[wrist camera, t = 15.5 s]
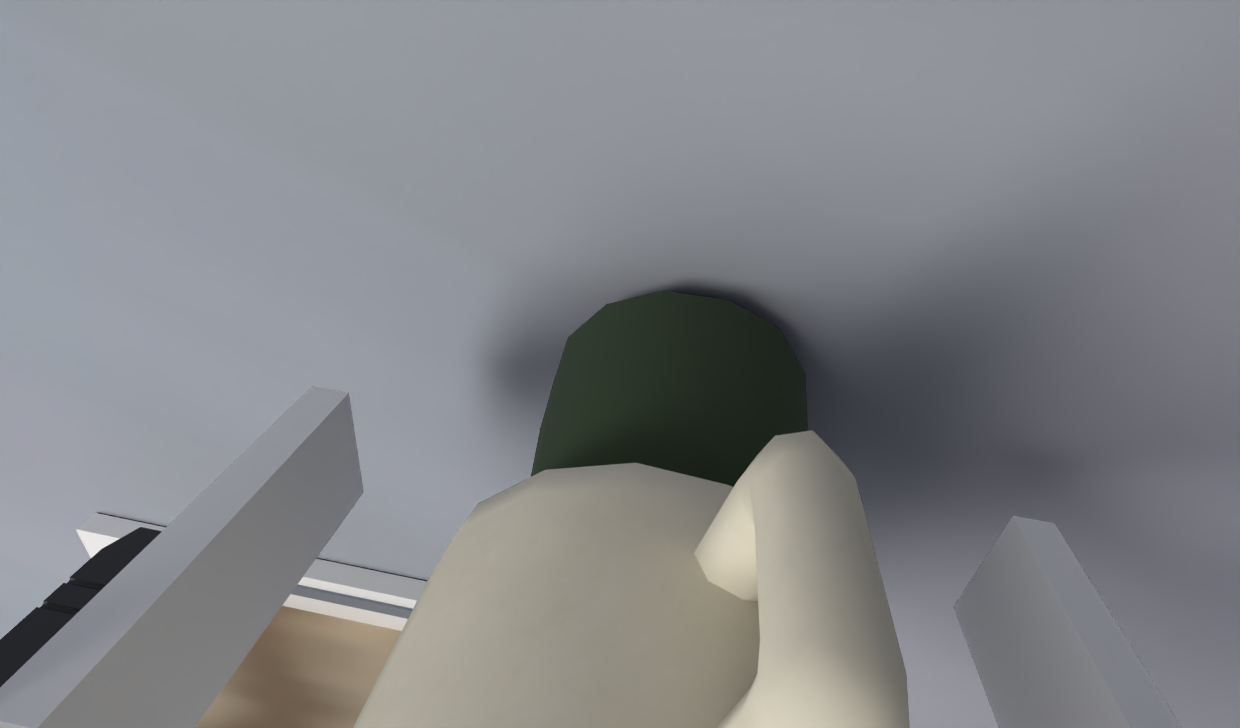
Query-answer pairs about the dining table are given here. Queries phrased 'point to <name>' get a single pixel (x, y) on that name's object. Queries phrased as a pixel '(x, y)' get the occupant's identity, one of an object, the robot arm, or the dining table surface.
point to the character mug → (659, 553)
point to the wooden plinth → (304, 674)
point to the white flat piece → (305, 581)
